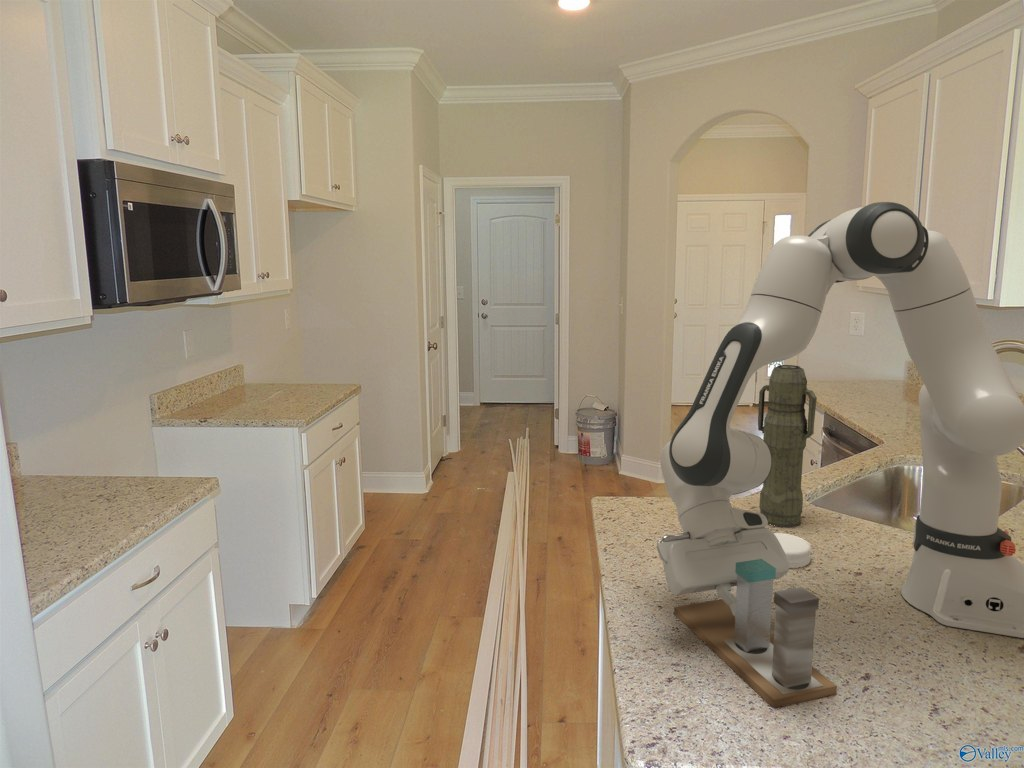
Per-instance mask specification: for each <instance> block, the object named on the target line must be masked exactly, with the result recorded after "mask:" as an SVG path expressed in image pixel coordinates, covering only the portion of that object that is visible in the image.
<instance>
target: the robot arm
mask: <svg viewBox="0 0 1024 768" xmlns="http://www.w3.org/2000/svg"><path fill="white" fill-rule="evenodd" d="M872 277H875V278H877V279H878V280H879V281H880V283H882V284H883V286H884V287H885V289H886V290H887V293H888V296H889V300H890V304H891V307H892V310H893V312H894V316H895V319H896V322H897V325H898V327H899V330H900V333H901V336H902V338H903V342H904V344H905V347H906V350H907V351H906V352H907V353H908V356H909V358H910V359H911V361H912V364H913V365H914V366H915V369H916V370H917V372H918V374H919V376H920V378H921V381H922V382H923V385H922V386H921V388H920V390H919V392H918V393H919V394H918V397H917V398H918V405H919V415H920V444H921V457H922V483H921V495H920V496H921V497H920V507H919V514H918V515H917V516H916V520H915V523H914V528H913V539H912V540H913V541H912V544H913V550H914V551H913V557H912V561H911V565H910V568H909V570H908V571H909V572H908V575H907V577H906V579H905V582H904V584H903V586H902V587H901V589H900V591H901V592H900V593H901V596H902V598H903V599H904V600H905V601H907V603H908V604H910V605H911V606H913V607H914V608H916V609H918V610H920V611H922V612H924V613H926V614H928V615H929V616H931V617H932V618H933V619H934V620H935V621H937V622H938V623H939V624H941V625H944V626H947V627H953V628H959V629H965V630H971V631H978V632H983V633H991V634H996V635H1003V636H1008V637H1013V638H1014V637H1015V638H1021V639H1024V563H1022V562H1021V560H1018V558H1016V557H1015V556H1014V555H1015V554H1016V552H1017V550H1016V545H1015V543H1014V542H1013V541H1012V537H1011V536H1010V535H1009V531H1007V529H1005V530H1004V531H1003V530H1002V529H1001V528H999V527H998V526H999V516H1000V510H1001V509H1000V508H1001V501H1002V492H1003V491H1002V490H1003V481H1002V477H1001V475H1000V471H999V465H998V459H997V458H998V457H999V456H1003V455H1006V454H1009V453H1013V451H1016V450H1017V449H1019V448H1020V447H1021V446H1022V445H1023V444H1024V403H1023V402H1022V400H1021V398H1020V396H1019V394H1018V393H1017V391H1016V389H1015V387H1014V384H1013V382H1012V380H1011V378H1010V376H1009V374H1008V372H1007V370H1006V368H1005V366H1004V364H1003V362H1002V361H1001V359H1000V358H1001V357H1000V356H999V354H998V353H997V351H996V349H995V347H994V346H993V344H992V342H991V339H990V338H989V336H988V332H987V331H986V328H985V325H984V322H983V319H982V317H981V313H980V310H979V309H978V305H977V302H976V299H975V297H974V294H973V290H972V287H971V284H970V282H969V279H968V277H967V273H966V271H965V269H964V267H963V265H962V263H961V260H960V258H959V256H958V254H957V253H956V251H955V249H954V247H953V246H952V244H951V243H950V242H949V240H948V238H947V237H946V236H945V235H944V234H943V233H941V232H939V231H936V230H930V229H927V228H926V227H925V226H923V224H922V222H921V221H920V219H919V218H918V216H917V215H916V213H914V212H913V211H912V210H911V209H910V208H909V207H907V206H905V205H904V204H900V203H898V202H891V201H879V202H878V201H877V202H873V203H869V204H867V205H865V206H860V207H857V208H853V209H850V210H847V211H844V212H843V213H841V214H839V215H837V216H836V217H835V218H832V219H829V220H826V221H825V222H822V223H821V224H819V225H817V227H816V228H814V229H813V230H812V231H811V232H810V233H809V234H808V235H800V234H797V235H796V234H795V235H788V236H785V237H783V238H781V239H779V240H778V241H777V242H775V243H774V244H773V246H772V248H771V249H770V251H769V253H768V255H767V256H766V258H765V260H764V262H763V264H762V266H761V268H760V271H759V272H758V275H757V278H756V279H755V283H754V285H753V288H752V291H751V293H750V296H749V299H748V302H747V305H746V307H745V310H744V311H743V314H742V315H741V316H740V319H739V321H738V322H737V323H736V324H735V326H733V327H731V329H730V330H728V332H727V333H726V334H725V336H724V338H723V339H722V341H721V342H720V344H719V346H718V348H717V351H716V353H715V355H714V356H713V359H712V361H711V363H710V365H709V367H708V369H707V372H706V374H705V377H704V379H703V381H702V383H701V385H700V387H699V390H698V392H697V394H696V397H695V399H694V401H693V403H692V405H691V407H690V409H689V411H688V413H687V414H686V416H685V417H684V418H683V420H682V421H681V422H680V424H679V425H678V427H676V430H675V431H674V433H673V435H672V436H671V439H670V441H668V442H667V443H666V444H665V445H664V446H663V448H662V449H661V452H660V459H659V461H660V469H661V472H662V477H663V478H662V479H663V480H664V485H665V487H666V490H667V492H668V495H669V497H670V498H669V499H671V501H672V502H673V503H674V505H675V507H676V511H677V519H678V523H679V525H680V527H681V530H682V532H679V533H676V534H666V535H663V536H662V537H661V539H659V540H658V541H657V544H656V550H657V552H658V556H659V558H660V559H661V561H662V566H663V571H664V576H665V580H666V583H667V587H668V590H669V591H670V592H671V593H672V594H673V595H675V596H677V597H678V596H683V595H684V596H685V595H689V594H696V593H702V592H706V591H707V592H709V591H713V590H716V591H715V592H716V593H717V596H718V597H719V599H722V600H723V601H724V602H725V603H726V604H727V605H729V606H730V609H731V611H732V614H733V615H734V616H735V612H736V596H734V595H733V594H732V593H731V591H732V587H737V574H736V573H735V570H736V563H737V562H744V561H750V560H757V559H763V560H764V561H766V562H767V563H769V564H770V565H772V566H773V567H775V568H776V576H775V579H773V581H774V580H779V579H781V578H783V577H784V576H785V575H786V574H788V573H789V571H790V568H789V561H788V559H787V557H786V554H785V552H784V550H783V548H782V546H781V544H780V542H779V541H778V539H777V537H776V536H775V535H774V533H775V532H773V531H771V530H770V529H768V528H766V527H767V526H769V525H768V521H767V519H766V517H765V516H764V515H763V514H761V513H760V512H755V511H750V510H744V509H741V508H736V507H733V506H732V504H731V501H730V498H731V497H732V496H735V495H739V494H743V493H746V492H748V491H751V490H753V489H755V488H758V487H760V486H761V485H763V483H764V482H765V480H766V479H767V477H768V476H769V474H770V471H771V467H772V456H771V452H770V449H769V447H768V445H767V444H766V442H765V441H764V440H763V437H762V438H761V437H760V436H758V435H755V434H753V433H750V432H747V431H745V430H741V429H736V428H731V427H730V426H731V421H732V419H733V416H734V414H735V412H736V410H737V407H738V405H739V402H740V401H741V399H742V396H743V394H744V391H745V389H746V387H747V384H748V383H749V381H750V379H751V378H752V376H753V375H754V374H755V373H756V372H757V371H758V370H759V369H760V368H762V367H764V366H766V365H769V364H772V363H776V362H780V361H781V362H782V361H786V360H788V359H791V358H794V357H795V356H798V355H800V354H801V353H802V352H804V351H805V350H806V349H807V347H808V346H809V345H810V342H811V341H812V339H813V337H814V336H815V333H816V331H817V328H818V325H819V322H820V319H821V316H822V313H823V310H824V306H825V303H826V299H827V295H828V294H829V291H830V290H831V288H833V285H834V284H835V283H837V284H838V283H843V282H852V281H853V282H854V281H863V280H866V279H867V280H868V279H870V278H872Z"/></svg>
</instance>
